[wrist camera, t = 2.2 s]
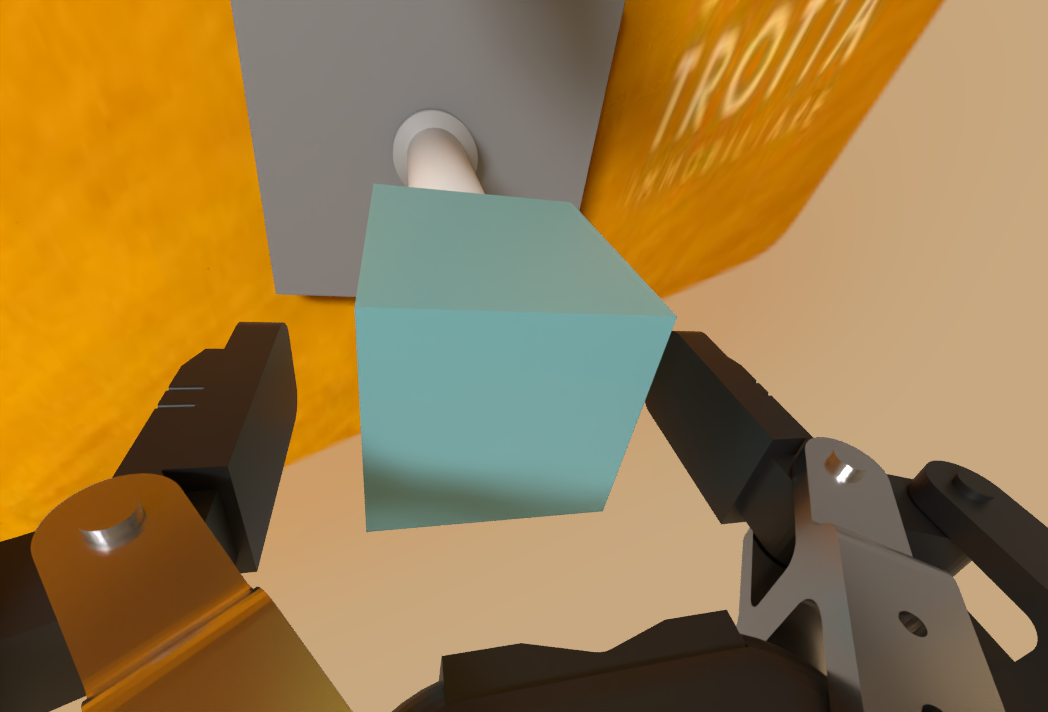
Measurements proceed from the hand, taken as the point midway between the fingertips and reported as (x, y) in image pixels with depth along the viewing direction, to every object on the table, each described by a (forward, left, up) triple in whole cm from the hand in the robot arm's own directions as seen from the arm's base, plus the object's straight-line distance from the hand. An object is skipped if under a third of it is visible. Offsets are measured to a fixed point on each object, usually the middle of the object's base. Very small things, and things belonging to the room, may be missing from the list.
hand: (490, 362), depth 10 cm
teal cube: (0, 0, -4) cm, 4 cm away
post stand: (0, 0, -22) cm, 22 cm away
